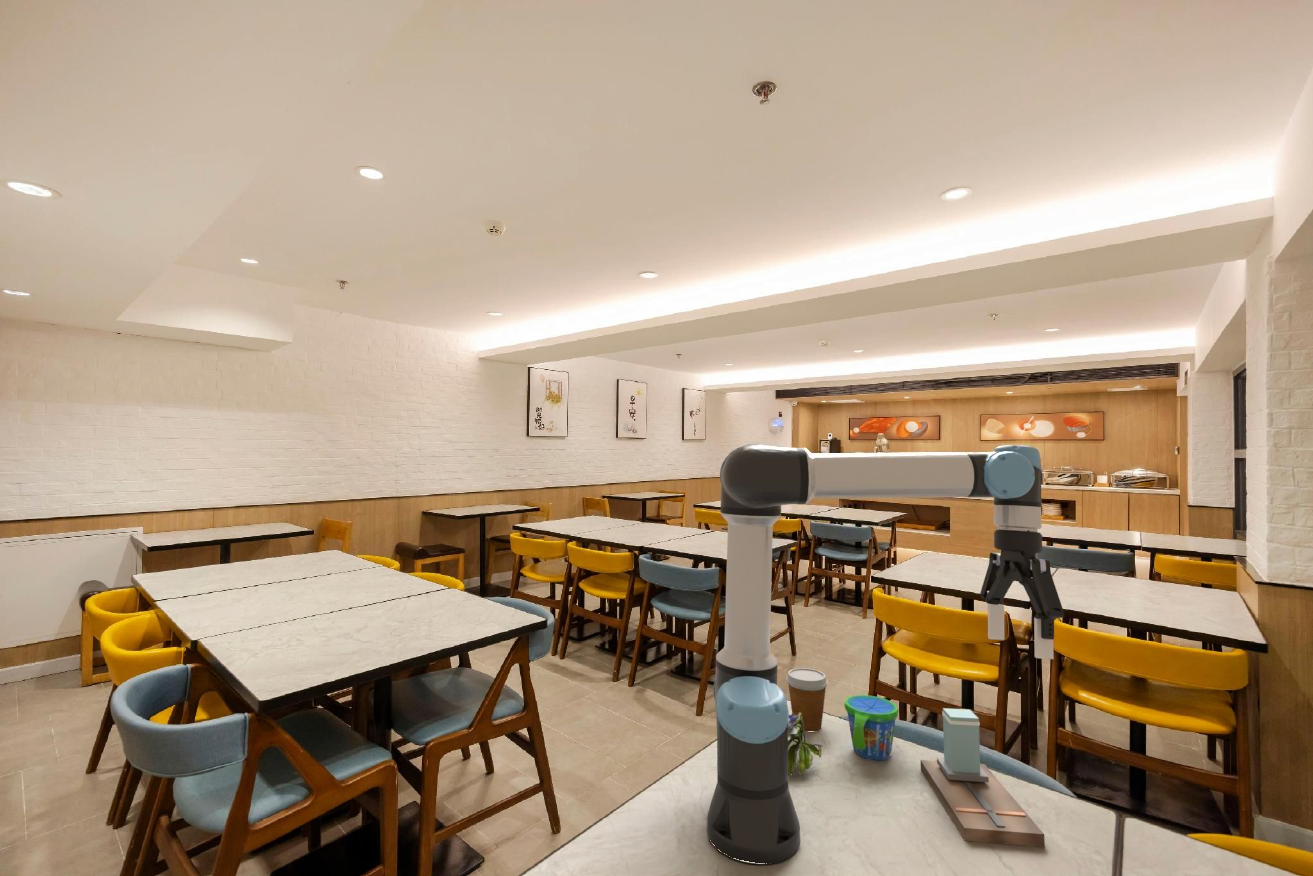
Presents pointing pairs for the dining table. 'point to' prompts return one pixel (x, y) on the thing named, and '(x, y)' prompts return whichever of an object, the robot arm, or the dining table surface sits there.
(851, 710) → the snack cup
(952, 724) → the cap
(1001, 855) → the dining table surface
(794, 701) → the disposable coffee cup
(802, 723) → the passion flower
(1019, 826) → the fader track
